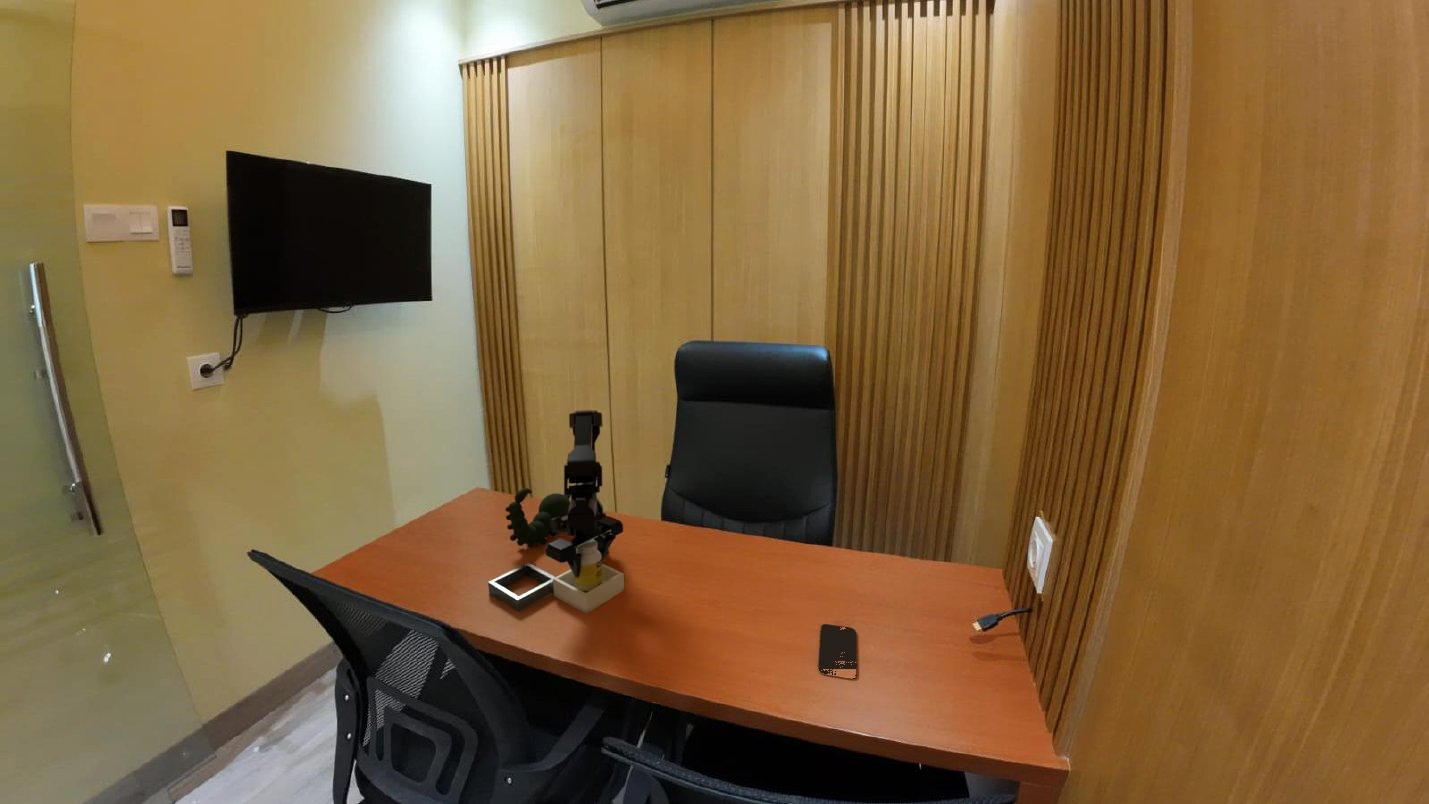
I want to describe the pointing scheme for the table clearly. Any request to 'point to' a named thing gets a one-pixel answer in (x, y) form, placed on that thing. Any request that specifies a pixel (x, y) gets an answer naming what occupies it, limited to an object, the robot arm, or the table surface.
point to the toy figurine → (536, 518)
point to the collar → (499, 584)
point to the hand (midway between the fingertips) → (588, 570)
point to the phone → (837, 648)
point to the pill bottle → (589, 567)
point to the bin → (593, 598)
